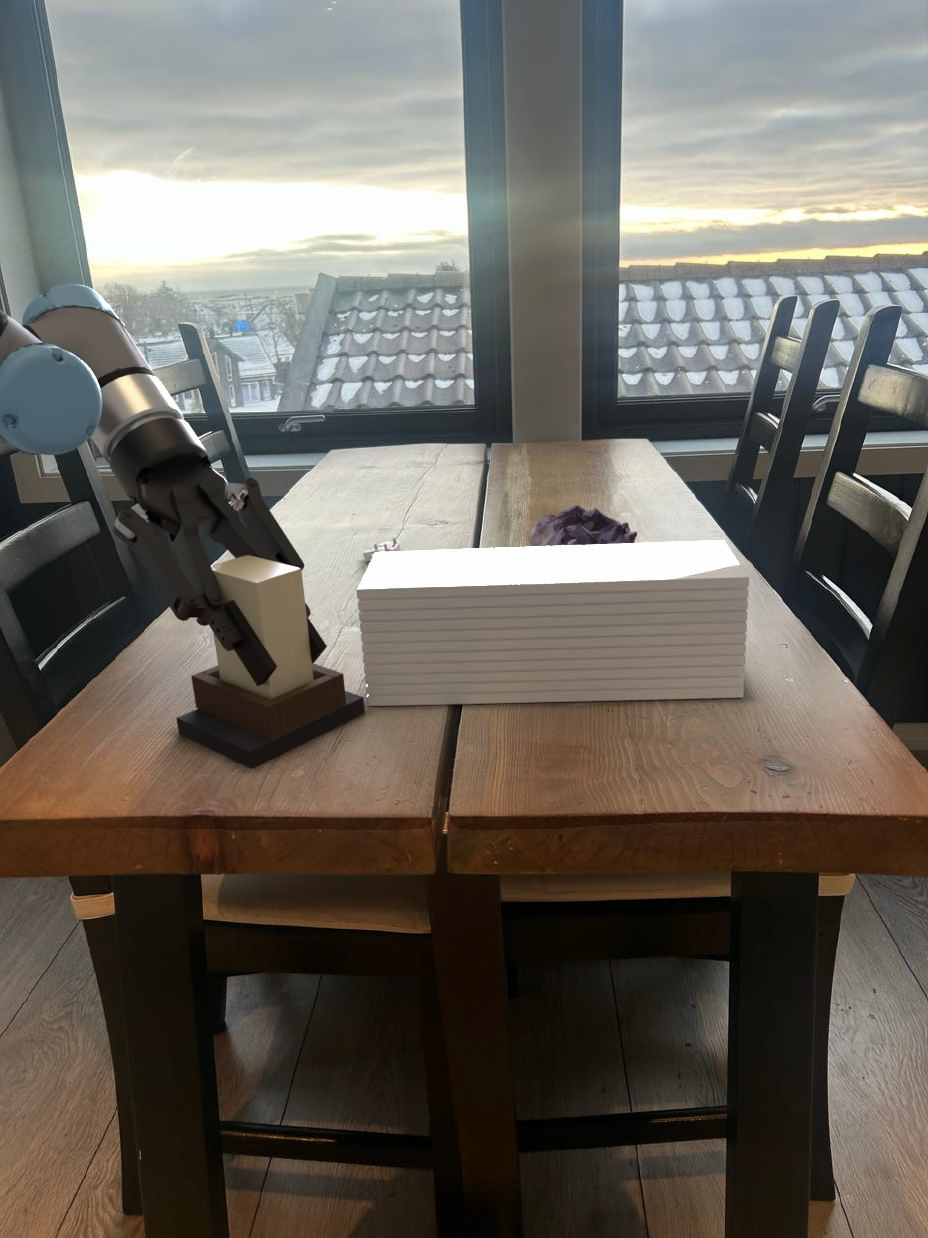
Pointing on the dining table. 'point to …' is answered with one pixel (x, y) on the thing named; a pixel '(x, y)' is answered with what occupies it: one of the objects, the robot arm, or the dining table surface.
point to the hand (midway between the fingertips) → (292, 665)
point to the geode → (579, 529)
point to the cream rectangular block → (267, 622)
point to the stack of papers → (554, 624)
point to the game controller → (383, 549)
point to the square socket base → (266, 715)
